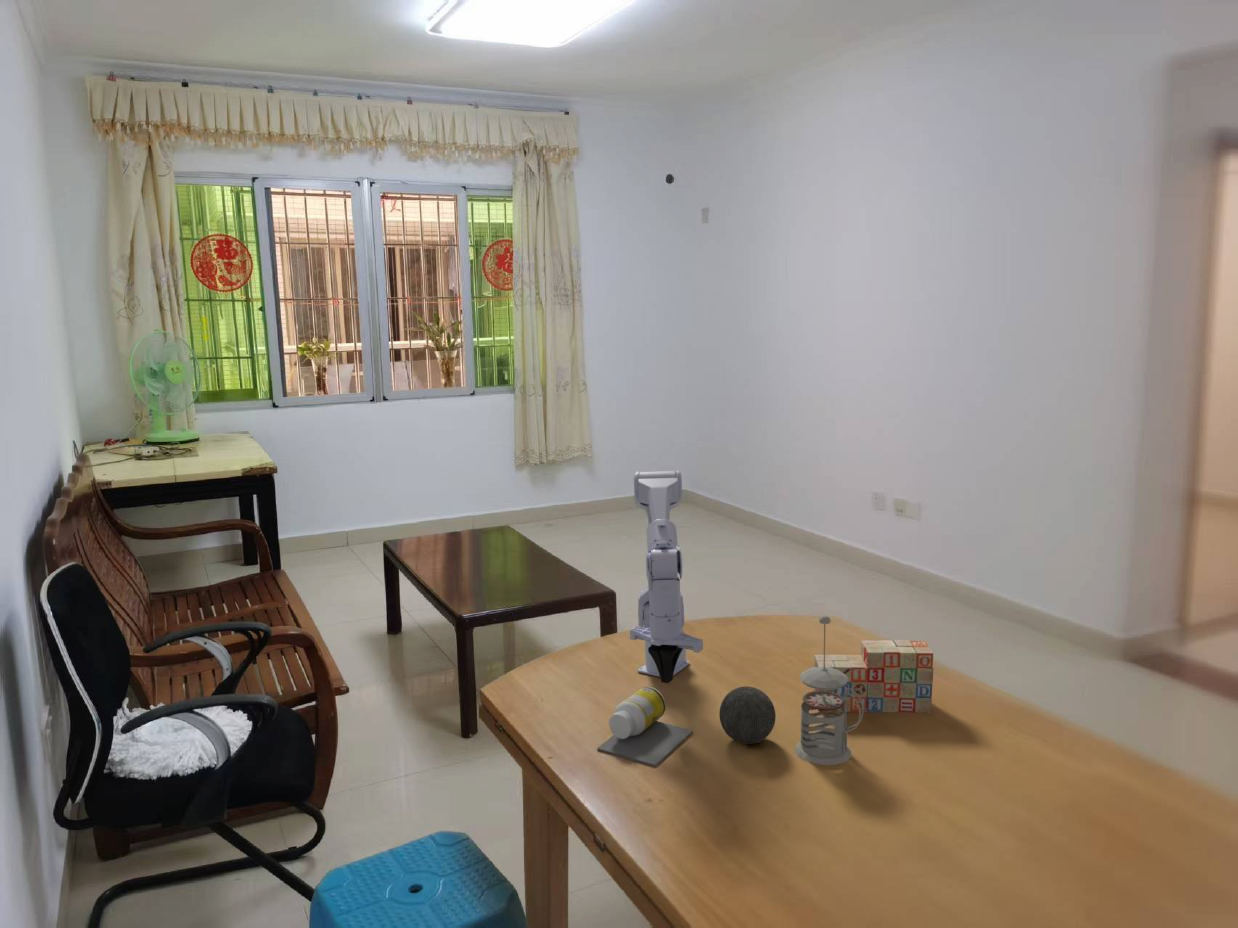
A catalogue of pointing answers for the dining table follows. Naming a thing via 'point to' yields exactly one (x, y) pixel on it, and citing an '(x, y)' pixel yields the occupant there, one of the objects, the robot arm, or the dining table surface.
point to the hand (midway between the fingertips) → (666, 680)
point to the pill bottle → (637, 713)
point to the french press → (828, 741)
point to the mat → (647, 743)
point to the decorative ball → (747, 715)
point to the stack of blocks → (885, 676)
